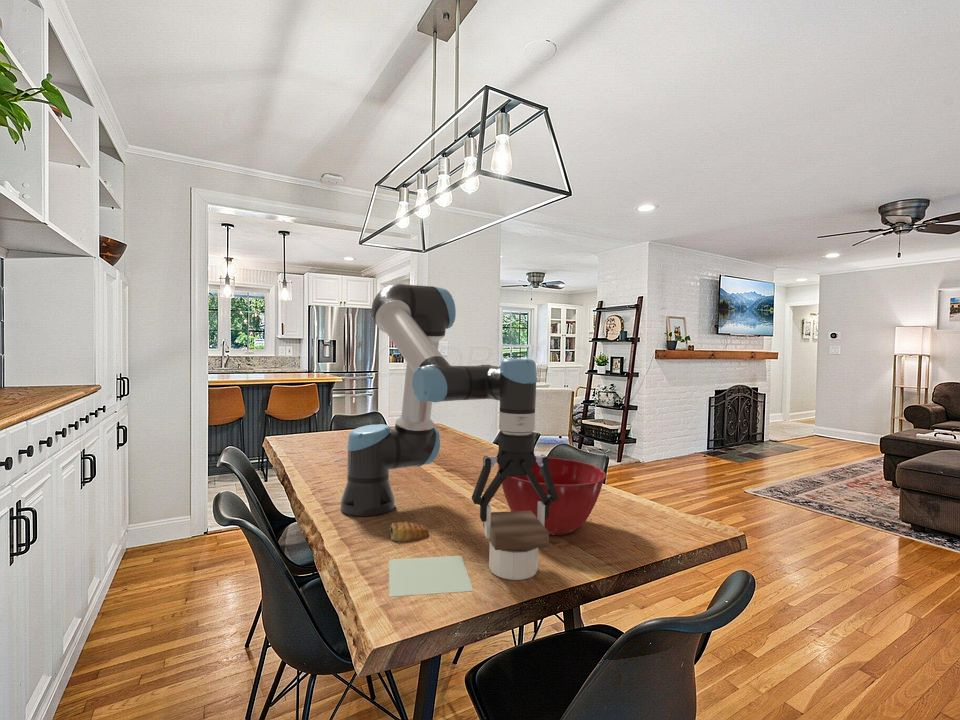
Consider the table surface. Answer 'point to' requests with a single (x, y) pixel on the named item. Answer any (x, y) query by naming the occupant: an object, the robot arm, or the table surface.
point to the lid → (517, 531)
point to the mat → (428, 576)
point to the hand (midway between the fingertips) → (514, 534)
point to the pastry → (407, 531)
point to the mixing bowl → (558, 493)
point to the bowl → (513, 563)
